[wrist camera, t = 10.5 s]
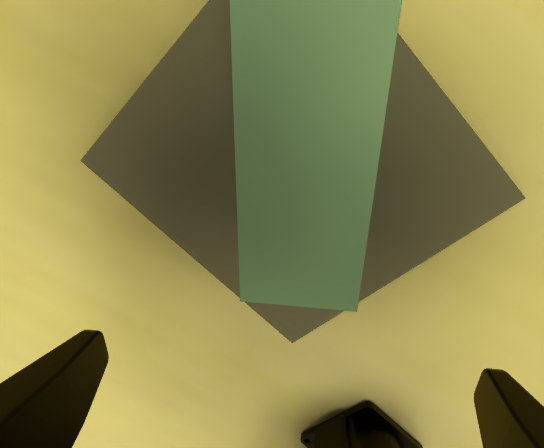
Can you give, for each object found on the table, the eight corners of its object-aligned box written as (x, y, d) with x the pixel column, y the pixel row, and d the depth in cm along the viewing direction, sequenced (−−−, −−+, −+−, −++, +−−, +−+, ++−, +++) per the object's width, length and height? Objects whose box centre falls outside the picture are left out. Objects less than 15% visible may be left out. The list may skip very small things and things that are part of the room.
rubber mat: (520, 192, 19) (525, 198, 19) (293, 336, 26) (292, 343, 25) (293, -100, 15) (292, -104, 15) (86, 156, 21) (80, 160, 21)
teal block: (351, 248, 21) (385, -30, 15) (356, 311, 17) (408, -43, 11) (257, 241, 22) (255, -31, 16) (240, 301, 18) (228, -43, 12)
